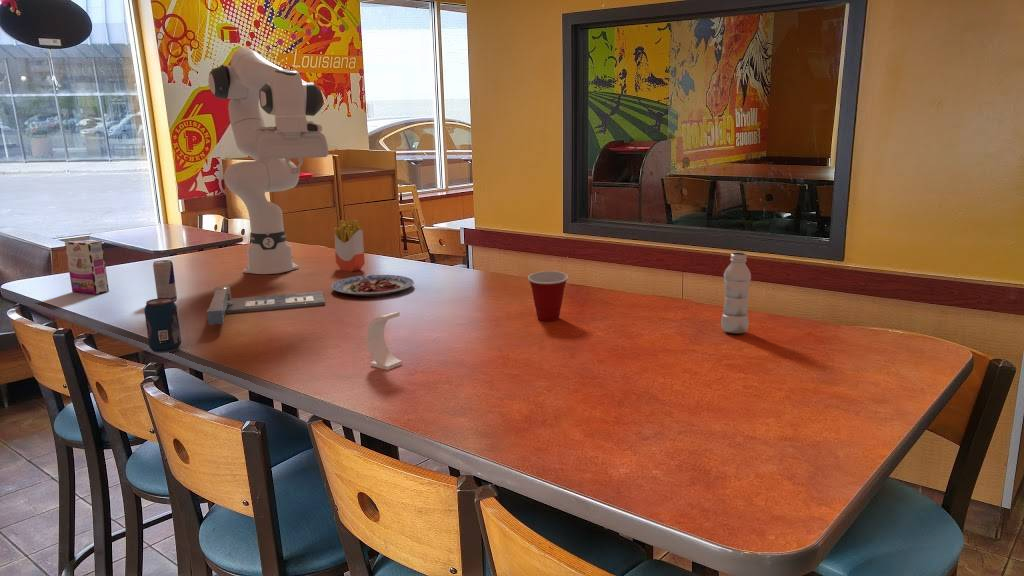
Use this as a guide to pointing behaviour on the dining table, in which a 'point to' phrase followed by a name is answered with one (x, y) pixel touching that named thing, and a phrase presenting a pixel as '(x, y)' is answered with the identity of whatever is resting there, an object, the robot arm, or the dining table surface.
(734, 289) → the plastic bottle
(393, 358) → the headphone stand
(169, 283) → the energy drink
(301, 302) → the double power outlet
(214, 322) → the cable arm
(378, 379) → the dining table surface
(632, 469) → the dining table surface
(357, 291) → the ceramic plate
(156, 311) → the soda can
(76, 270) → the candy bar box
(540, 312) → the plastic cup
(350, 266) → the french fries container
